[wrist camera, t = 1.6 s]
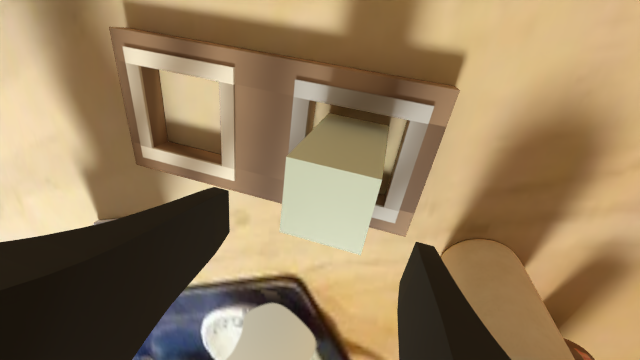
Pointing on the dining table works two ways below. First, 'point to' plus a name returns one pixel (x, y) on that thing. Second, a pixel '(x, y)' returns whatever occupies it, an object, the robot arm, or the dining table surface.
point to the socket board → (274, 115)
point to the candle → (505, 300)
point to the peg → (334, 182)
